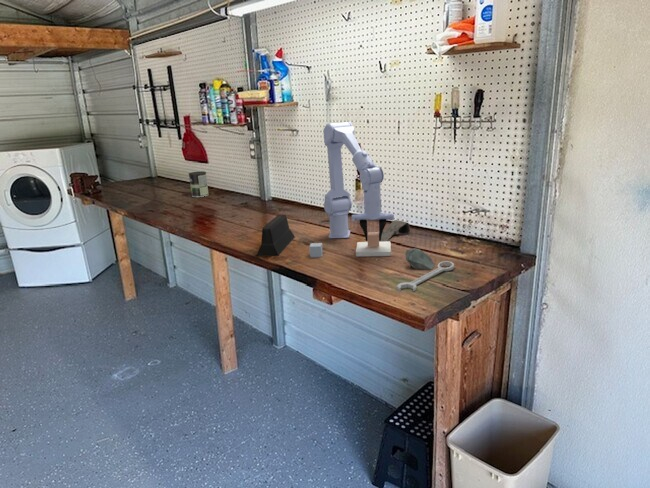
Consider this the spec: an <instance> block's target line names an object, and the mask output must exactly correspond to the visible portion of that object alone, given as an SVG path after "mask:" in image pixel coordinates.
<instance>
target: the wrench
mask: <svg viewBox="0 0 650 488" xmlns="http://www.w3.org/2000/svg"><path fill="white" fill-rule="evenodd" d="M442 266H447V267H442ZM448 266H449V267H448ZM454 268H455V263H454V262H453V261H448V260H445V261H441V262H439V263H438V264H437V268H435V269H433V270H430V272H428V273H426V274H424V275H422V276H419V277H418V278H416V279H414V280H412V281H410V282H400V283H398V284H397V285H396V289H397V291H398V292H401V290H402V289H406V288H407V289H410V290H411V289H412V292H415V291H417V290H418V289H417V288H418V287H417V286H418V285H419V284H421V283H424V282H425V281H427V280H429V279H431V278H433V277H435V276H437V275H439V274H440V273H442V272H449V271H452V270H453V269H454Z"/></svg>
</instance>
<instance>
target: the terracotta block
mask: <svg viewBox="0 0 650 488" xmlns="http://www.w3.org/2000/svg"><path fill="white" fill-rule="evenodd" d="M367 232H368V234H367V240H368V241H367V242H368V247H370V246H379V231H377V232H376V231H374V232H373V231H371V232H370V231H367Z"/></svg>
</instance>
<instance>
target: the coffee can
mask: <svg viewBox="0 0 650 488" xmlns="http://www.w3.org/2000/svg"><path fill="white" fill-rule="evenodd" d="M188 178H189V185H190V191H191V192H190V193H191V197H192V198H203V197H204V196H205V197H208V196H209V194H210V193H209V187H208V180H207V172H206V171H192V172H188ZM205 197H204V198H205Z"/></svg>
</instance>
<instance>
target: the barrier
mask: <svg viewBox="0 0 650 488" xmlns="http://www.w3.org/2000/svg"><path fill="white" fill-rule="evenodd" d="M295 238H296V236H295V234H294V233H293V232H292V230H291V229H290V225H289V222H288V218H287V215H286V214H277V215H276V216H275V217H274V218H273V219H271V220H270V221H269V222H268V223H267V224H265V225H264V226H263V227H262V231H261V242H260V243H261V245H260V246H259V249H258V250H257V253H256V256H267V257H268V256H269V257H270V256H271V257H273V256H274V257H278V256H280V255H281V254H282V253H283V251H284V250H285V249H286V248H287V247H288V246H289V244H291V242H293V240H294V239H295Z"/></svg>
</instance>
